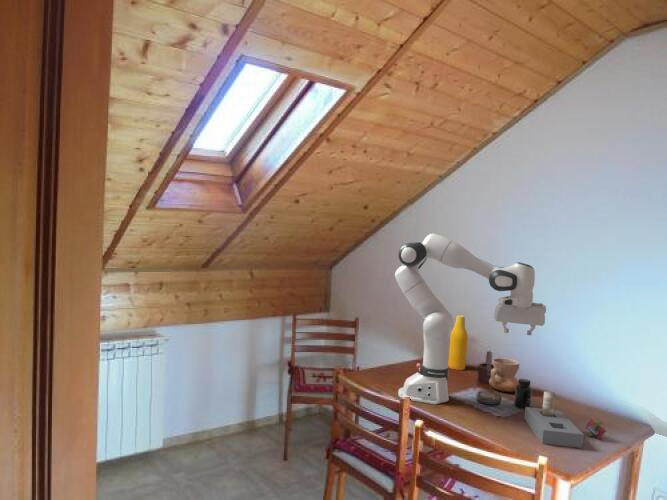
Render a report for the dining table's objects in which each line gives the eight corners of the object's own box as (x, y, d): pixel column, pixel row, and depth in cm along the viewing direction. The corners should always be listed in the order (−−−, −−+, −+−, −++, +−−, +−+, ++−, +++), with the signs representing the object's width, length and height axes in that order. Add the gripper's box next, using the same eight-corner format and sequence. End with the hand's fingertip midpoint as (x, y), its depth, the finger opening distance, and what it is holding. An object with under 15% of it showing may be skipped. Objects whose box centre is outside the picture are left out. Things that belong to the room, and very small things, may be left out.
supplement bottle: (531, 410, 218) (534, 383, 218) (515, 408, 220) (517, 381, 219) (528, 405, 225) (531, 378, 225) (512, 403, 226) (515, 376, 226)
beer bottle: (446, 364, 284) (451, 313, 283) (463, 366, 283) (468, 315, 282) (448, 369, 275) (453, 316, 274) (466, 371, 274) (470, 318, 273)
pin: (542, 424, 199) (545, 394, 199) (539, 420, 203) (542, 391, 203) (553, 425, 199) (556, 395, 198) (550, 421, 203) (552, 392, 202)
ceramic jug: (505, 383, 256) (507, 355, 256) (528, 392, 243) (530, 363, 243) (478, 387, 248) (480, 358, 247) (501, 396, 235) (503, 366, 234)
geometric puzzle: (613, 435, 191) (602, 414, 195) (603, 438, 187) (593, 417, 191) (597, 440, 196) (587, 420, 200) (587, 443, 192) (577, 422, 196)
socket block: (542, 443, 184) (543, 430, 184) (524, 418, 208) (525, 406, 208) (582, 447, 183) (583, 434, 182) (559, 422, 206) (560, 410, 206)
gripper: (544, 302, 215) (540, 334, 215) (495, 298, 217) (491, 329, 217) (548, 305, 208) (545, 338, 209) (498, 300, 210) (494, 332, 211)
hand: (517, 333), depth 213 cm, fingers open, 8 cm apart
